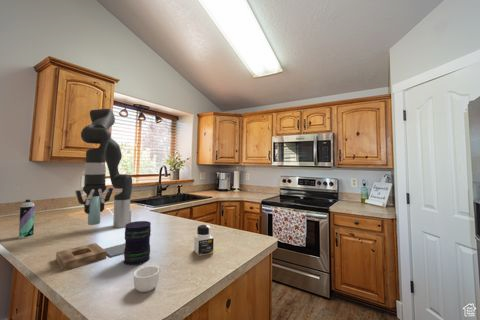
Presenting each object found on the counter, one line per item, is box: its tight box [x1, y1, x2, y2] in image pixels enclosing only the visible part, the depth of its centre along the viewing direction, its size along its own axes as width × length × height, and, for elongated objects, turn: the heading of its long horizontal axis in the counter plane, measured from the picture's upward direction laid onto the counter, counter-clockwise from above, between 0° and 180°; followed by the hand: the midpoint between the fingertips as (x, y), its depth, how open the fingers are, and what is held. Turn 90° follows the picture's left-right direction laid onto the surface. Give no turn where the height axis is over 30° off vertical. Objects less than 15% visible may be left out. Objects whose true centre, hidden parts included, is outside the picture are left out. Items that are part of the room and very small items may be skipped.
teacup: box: [133, 265, 161, 293], centre depth 69 cm, size 10×8×5 cm
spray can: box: [18, 199, 36, 240], centre depth 113 cm, size 6×6×20 cm
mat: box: [103, 242, 125, 258], centre depth 97 cm, size 11×11×1 cm
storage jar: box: [123, 220, 152, 266], centre depth 88 cm, size 10×10×15 cm
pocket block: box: [55, 242, 107, 272], centre depth 88 cm, size 14×14×3 cm
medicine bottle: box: [193, 224, 214, 257], centre depth 97 cm, size 7×7×12 cm
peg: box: [87, 196, 101, 226], centre depth 91 cm, size 4×4×12 cm
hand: (94, 212), depth 91 cm, fingers closed on peg, 4 cm apart
